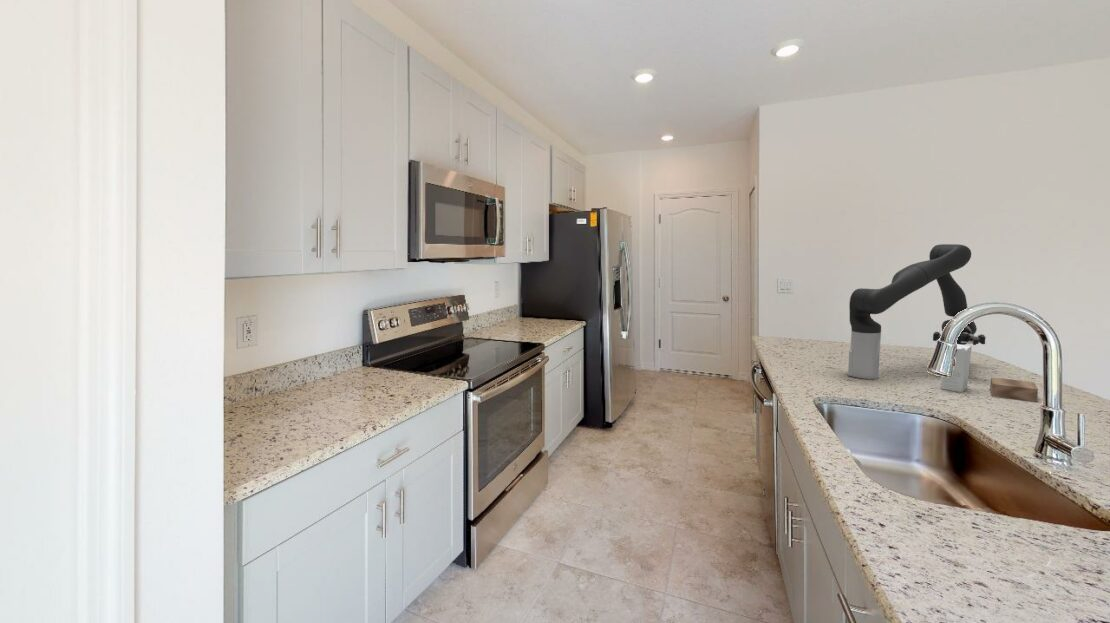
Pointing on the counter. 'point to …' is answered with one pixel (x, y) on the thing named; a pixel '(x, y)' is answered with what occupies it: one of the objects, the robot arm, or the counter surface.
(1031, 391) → the walnut base
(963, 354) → the skincare box
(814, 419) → the counter surface
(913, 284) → the robot arm
